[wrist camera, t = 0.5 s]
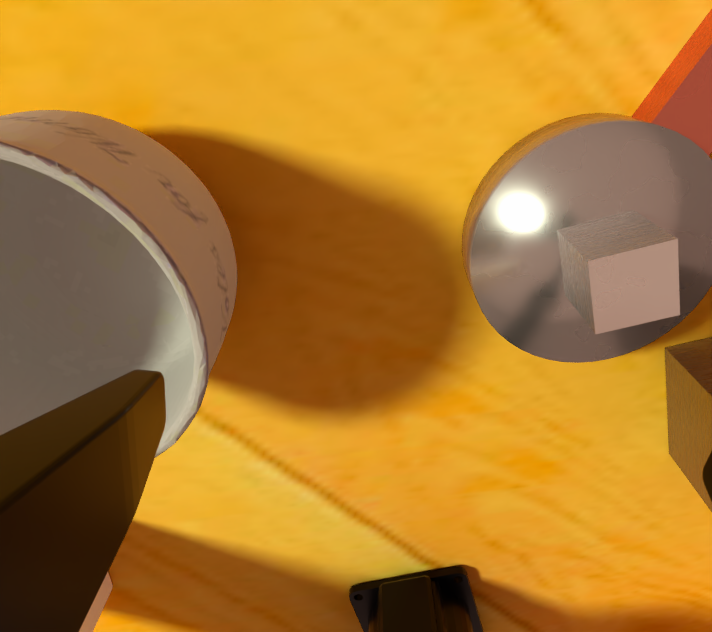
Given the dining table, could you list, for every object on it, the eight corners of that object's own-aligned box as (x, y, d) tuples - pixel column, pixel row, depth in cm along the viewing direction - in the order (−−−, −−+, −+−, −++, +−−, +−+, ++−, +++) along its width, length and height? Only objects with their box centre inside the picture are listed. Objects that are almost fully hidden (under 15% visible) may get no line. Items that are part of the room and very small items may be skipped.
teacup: (311, 266, 22) (287, 375, 15) (130, 402, 25) (38, 546, 18) (24, -62, 17) (-213, -130, 10) (-157, 156, 20) (-435, 221, 13)
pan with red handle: (593, 370, 24) (645, 446, 20) (418, 276, 22) (431, 337, 18) (994, -81, 17) (1222, -122, 12) (782, -277, 15) (960, -409, 10)
